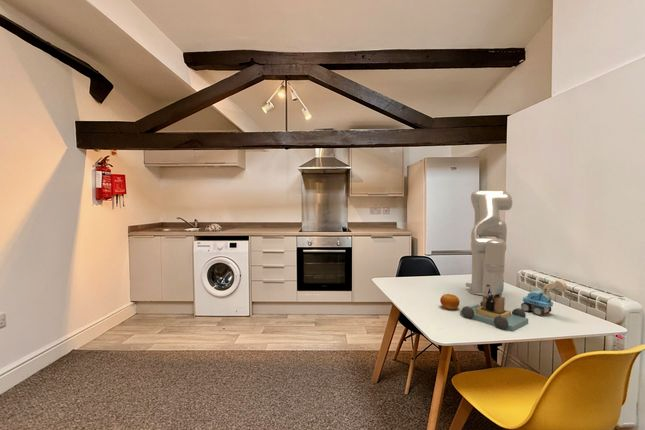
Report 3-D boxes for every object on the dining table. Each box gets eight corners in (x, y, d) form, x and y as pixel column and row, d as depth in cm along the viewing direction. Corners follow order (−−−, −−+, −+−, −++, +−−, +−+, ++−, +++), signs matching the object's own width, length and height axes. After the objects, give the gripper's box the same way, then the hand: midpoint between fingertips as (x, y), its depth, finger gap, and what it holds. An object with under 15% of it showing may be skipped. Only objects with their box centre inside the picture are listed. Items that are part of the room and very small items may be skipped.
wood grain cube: (482, 308, 135) (482, 295, 135) (487, 306, 138) (488, 293, 138) (498, 313, 129) (499, 299, 129) (504, 311, 132) (504, 297, 132)
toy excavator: (558, 322, 131) (559, 282, 131) (518, 310, 146) (519, 274, 146) (568, 318, 135) (569, 280, 135) (528, 307, 150) (529, 273, 150)
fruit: (463, 300, 149) (454, 287, 148) (462, 311, 142) (452, 297, 141) (447, 304, 154) (438, 292, 153) (445, 315, 147) (436, 302, 146)
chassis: (458, 315, 138) (458, 304, 138) (478, 308, 148) (478, 298, 148) (510, 332, 120) (511, 319, 120) (529, 322, 130) (529, 311, 130)
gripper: (494, 264, 141) (493, 303, 142) (475, 269, 131) (474, 310, 132) (512, 267, 135) (511, 307, 136) (493, 272, 125) (492, 315, 126)
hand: (493, 308), depth 134 cm, fingers closed on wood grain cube, 4 cm apart
